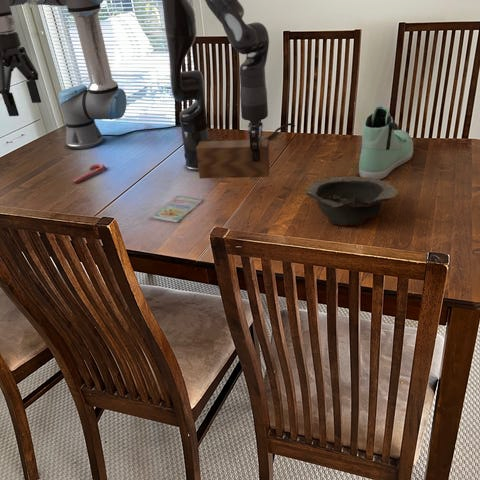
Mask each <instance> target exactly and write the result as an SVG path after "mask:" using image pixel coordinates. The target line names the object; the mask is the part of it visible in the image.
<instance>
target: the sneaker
mask: <svg viewBox="0 0 480 480" xmlns="http://www.w3.org/2000/svg"><path fill="white" fill-rule="evenodd" d="M361 129H362V130H361V152H360V155H359V162H358V171H359V177H367V178H372V179H379V180H382V179H384V178H386V177H387V176H389V174H390V173H392V171H393V170H395V169H396V168H398V167H400V166H401V165H404V164H405V163H407V162H408V161H410V160H411V159H412V158H413V154H414V142H413V138H412V136H411V135H410V134H409V133H408V132H407V131H406V130H403V129H399V126H398V123H396V122H394V119H393V116H391V112H390V111H389V109H388V108H387V107H385V106H383V105H377V106H376V107H375V108H374V109H373V113H371V114H369V115H368V116H367V117H366V118H365V120H364V122H363V125H362V128H361Z"/></svg>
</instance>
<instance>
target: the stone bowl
mask: <svg viewBox="0 0 480 480" xmlns="http://www.w3.org/2000/svg"><path fill="white" fill-rule="evenodd" d="M394 187H395V186H392V185H391V183H388V182H385V181H384V180H382V179H372V178H367V177H361V176H351V175H350V176H348V175H342V176H337V177H335V176H333V177H326V178H323V179H319V180H315V181H312V182H311V183H310V184H308V186H307V189H306V192H304V193H305V195H308V196H309V197H311V198H312V199H314V200H316V202H317V206H318V208H319V210H320V211H321V213H322V214H323V215H324V216H326V217H327V219H328V222H329V223H330V224H332V225H339V226H345V227H349V226H351V225H353V226H359V225H362V224H364V223H365V221H366V219H372V218H374V217H378V216H379V215H380V214H381V209H382V203H384V202H387V201H389V200H391V199H393V198H395V197H397V196H398V190H397V189H396V188H394ZM341 224H342V225H341ZM348 225H349V226H348Z"/></svg>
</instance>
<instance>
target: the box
mask: <svg viewBox="0 0 480 480" xmlns="http://www.w3.org/2000/svg"><path fill="white" fill-rule="evenodd" d="M265 139H266V138H265ZM254 145H257V143H253V146H254ZM269 145H270V143H269V139H266V140H264V139H262V140H261V141H260V161H259V162H253V161H252V150H250V141H249V139H241V140H239V139H237V140H235V139H234V140H212V141H202V142H199V144H198V146H197V148H196V152H197V160H198V168H199V171H198V177H199V179H234V178H235V179H236V178H237V179H238V178H240V179H241V178H269V177H270V169H271V168H270V167H271V166H270V146H269Z"/></svg>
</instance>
